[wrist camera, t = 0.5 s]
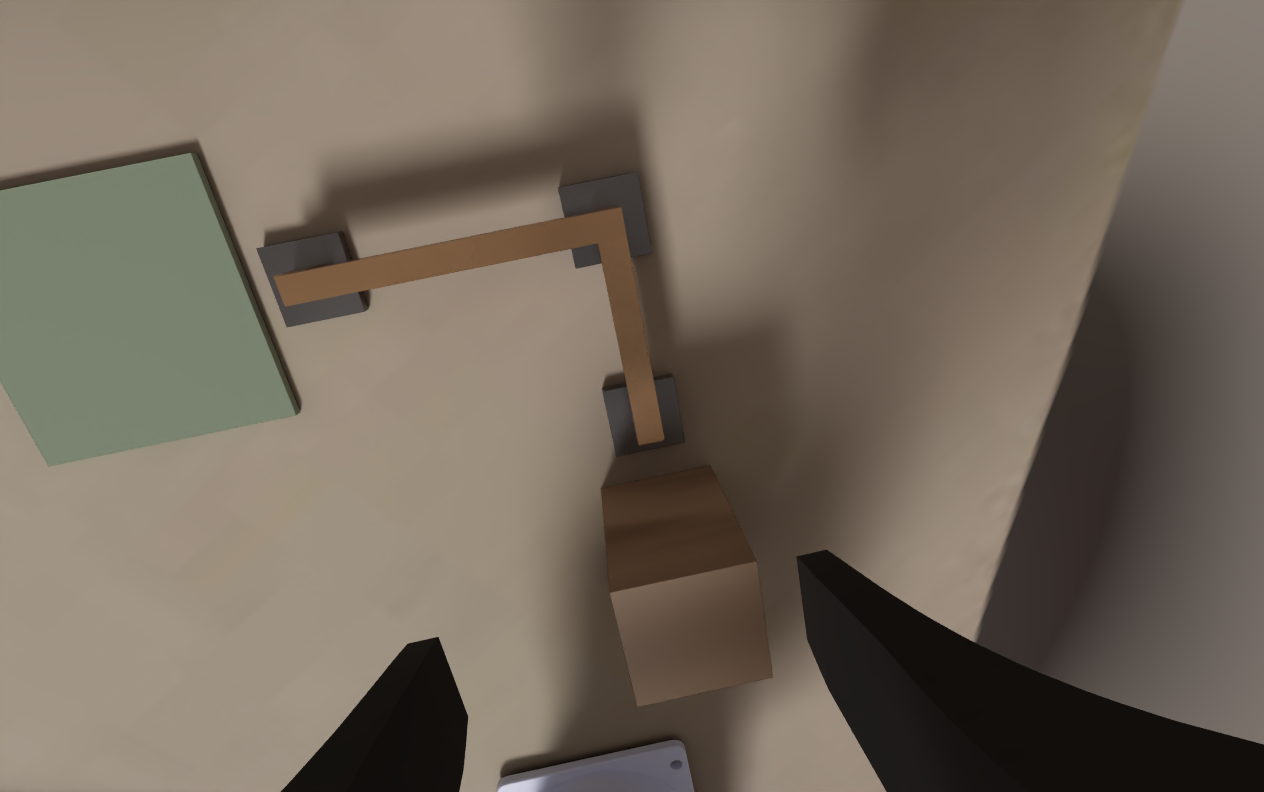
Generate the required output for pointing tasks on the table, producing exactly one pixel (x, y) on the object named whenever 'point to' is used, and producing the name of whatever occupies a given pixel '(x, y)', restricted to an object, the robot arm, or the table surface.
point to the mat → (129, 313)
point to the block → (683, 587)
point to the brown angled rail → (592, 227)
